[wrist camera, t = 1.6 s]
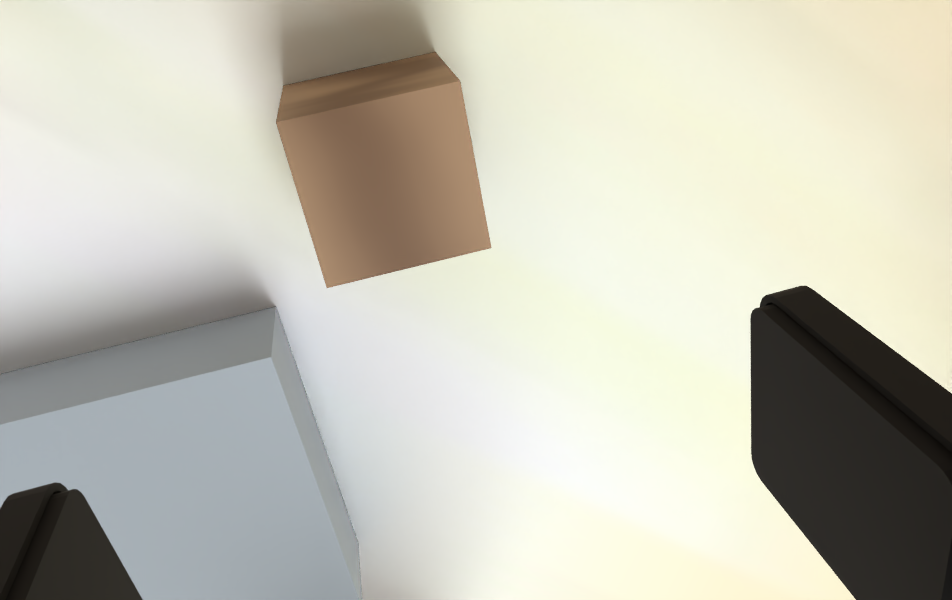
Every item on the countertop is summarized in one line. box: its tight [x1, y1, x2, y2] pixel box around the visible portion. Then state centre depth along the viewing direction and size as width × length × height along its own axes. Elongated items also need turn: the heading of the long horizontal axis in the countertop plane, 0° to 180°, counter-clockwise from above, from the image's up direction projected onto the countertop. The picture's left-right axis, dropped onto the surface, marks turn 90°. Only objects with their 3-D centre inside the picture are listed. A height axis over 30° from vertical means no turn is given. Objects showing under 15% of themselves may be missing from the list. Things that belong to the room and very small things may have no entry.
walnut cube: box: [276, 52, 491, 288], centre depth 24 cm, size 5×5×5 cm
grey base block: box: [0, 307, 362, 600], centre depth 29 cm, size 12×12×4 cm
